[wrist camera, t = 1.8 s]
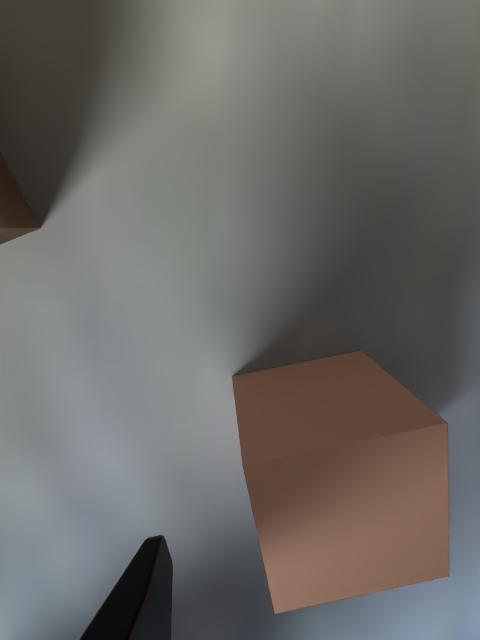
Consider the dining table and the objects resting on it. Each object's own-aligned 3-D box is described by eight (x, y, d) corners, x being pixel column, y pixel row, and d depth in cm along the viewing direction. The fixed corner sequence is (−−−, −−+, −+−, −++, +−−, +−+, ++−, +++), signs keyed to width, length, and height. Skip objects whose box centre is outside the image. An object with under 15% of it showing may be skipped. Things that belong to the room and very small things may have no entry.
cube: (369, 457, 13) (449, 576, 8) (254, 482, 13) (274, 614, 8) (360, 349, 12) (448, 423, 7) (232, 375, 11) (242, 465, 7)
